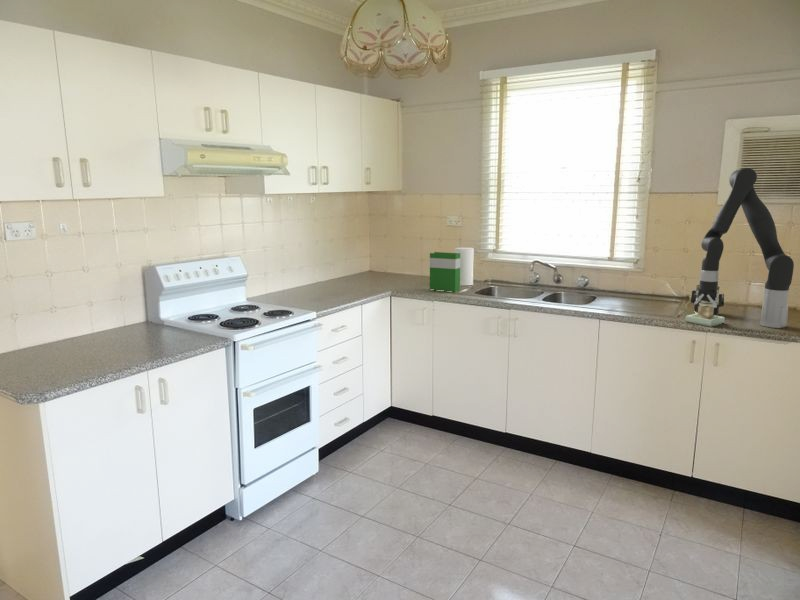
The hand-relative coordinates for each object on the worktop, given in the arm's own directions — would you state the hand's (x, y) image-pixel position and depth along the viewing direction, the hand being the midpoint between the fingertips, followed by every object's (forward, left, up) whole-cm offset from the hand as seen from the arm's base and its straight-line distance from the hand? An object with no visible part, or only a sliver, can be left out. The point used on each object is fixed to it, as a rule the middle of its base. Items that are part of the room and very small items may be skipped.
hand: (705, 313), depth 263 cm
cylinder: (+150, +23, -5) cm, 152 cm away
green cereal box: (+140, +47, -5) cm, 148 cm away
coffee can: (+11, -21, -5) cm, 24 cm away
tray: (0, 0, -4) cm, 4 cm away
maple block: (0, 0, -4) cm, 4 cm away
